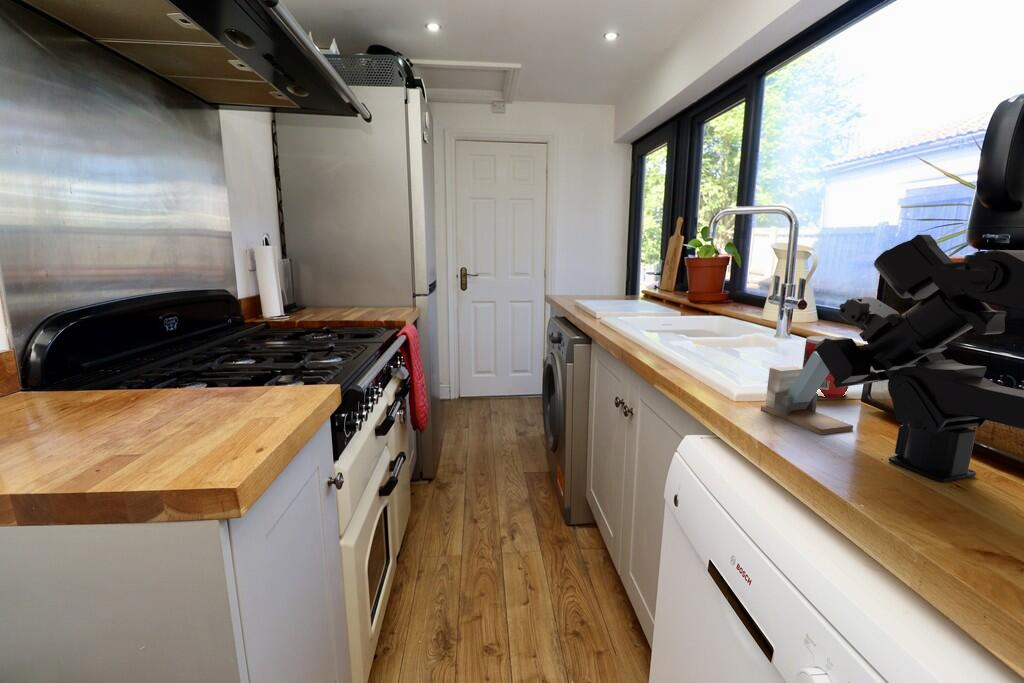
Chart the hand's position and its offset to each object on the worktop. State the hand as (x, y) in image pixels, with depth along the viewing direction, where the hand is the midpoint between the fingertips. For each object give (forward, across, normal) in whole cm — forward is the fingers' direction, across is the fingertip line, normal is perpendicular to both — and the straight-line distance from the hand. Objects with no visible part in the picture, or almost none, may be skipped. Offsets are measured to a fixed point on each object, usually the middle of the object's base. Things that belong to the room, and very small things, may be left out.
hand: (836, 384), depth 73 cm
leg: (+8, 0, -1) cm, 8 cm away
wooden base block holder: (+9, 0, +2) cm, 9 cm away
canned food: (+16, -17, -6) cm, 24 cm away
